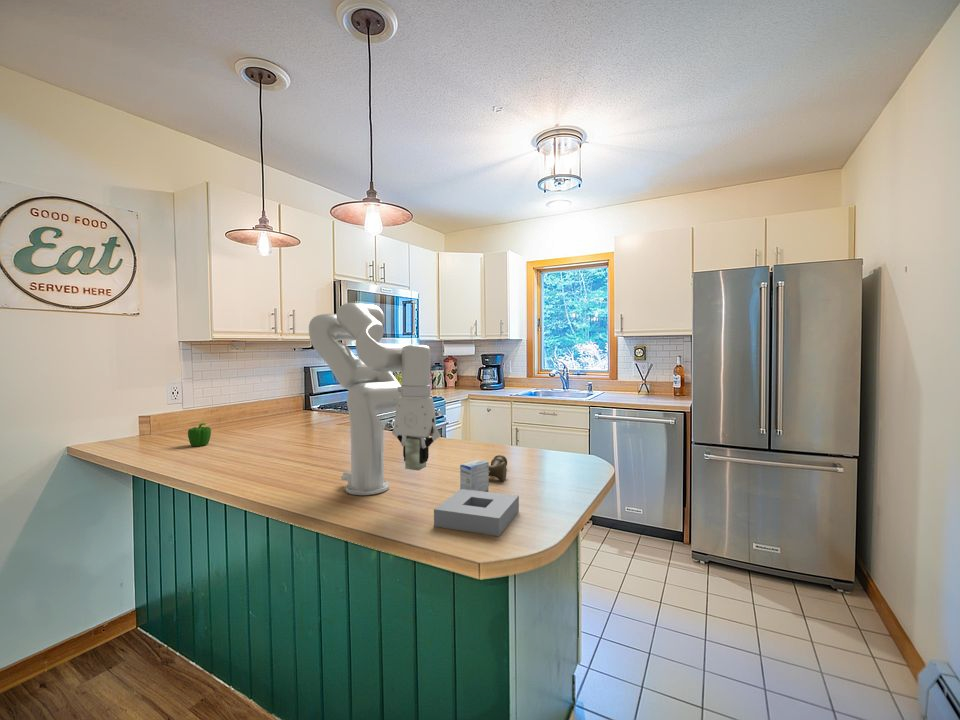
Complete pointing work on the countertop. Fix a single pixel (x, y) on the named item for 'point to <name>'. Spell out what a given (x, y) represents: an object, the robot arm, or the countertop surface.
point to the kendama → (498, 467)
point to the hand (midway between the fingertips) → (415, 460)
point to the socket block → (477, 512)
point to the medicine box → (474, 475)
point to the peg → (413, 453)
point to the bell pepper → (199, 435)
